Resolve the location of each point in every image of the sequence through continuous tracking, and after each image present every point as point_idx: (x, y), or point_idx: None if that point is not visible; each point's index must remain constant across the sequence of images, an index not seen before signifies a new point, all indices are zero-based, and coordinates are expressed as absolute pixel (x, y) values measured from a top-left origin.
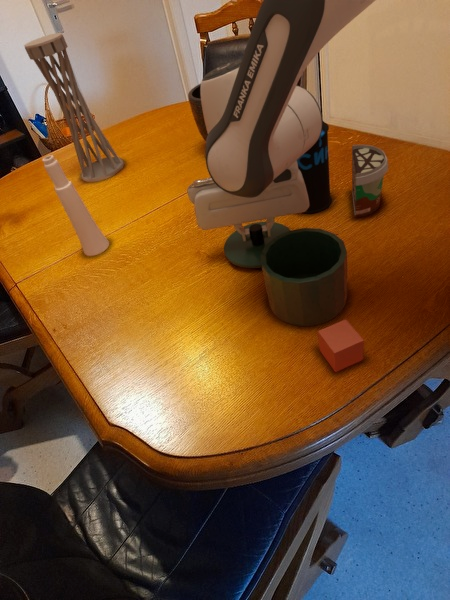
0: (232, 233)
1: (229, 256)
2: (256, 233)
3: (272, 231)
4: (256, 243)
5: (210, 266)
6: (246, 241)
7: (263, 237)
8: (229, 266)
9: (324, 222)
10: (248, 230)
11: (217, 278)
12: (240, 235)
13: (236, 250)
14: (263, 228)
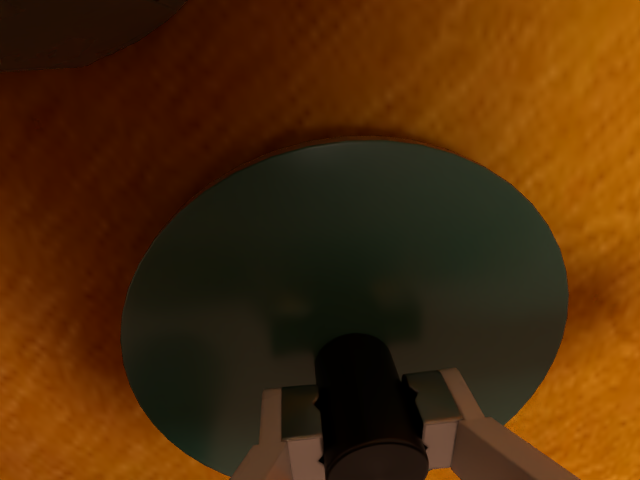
0: None
1: (548, 266)
2: (370, 419)
3: None
4: (366, 347)
5: (628, 235)
6: None
7: (316, 386)
8: None
9: (17, 460)
10: (428, 451)
11: (623, 120)
12: None
13: (493, 312)
14: (312, 460)
